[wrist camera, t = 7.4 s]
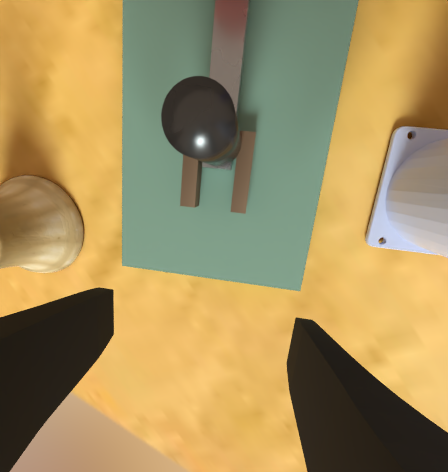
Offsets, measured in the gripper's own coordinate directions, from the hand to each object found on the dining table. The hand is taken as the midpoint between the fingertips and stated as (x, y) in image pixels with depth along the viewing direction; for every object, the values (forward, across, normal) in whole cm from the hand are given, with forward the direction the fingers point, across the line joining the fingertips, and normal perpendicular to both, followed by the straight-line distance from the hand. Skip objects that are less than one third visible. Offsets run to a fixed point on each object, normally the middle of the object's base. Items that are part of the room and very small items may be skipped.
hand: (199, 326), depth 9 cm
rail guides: (+9, +1, -6) cm, 11 cm away
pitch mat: (+10, +1, -10) cm, 14 cm away
